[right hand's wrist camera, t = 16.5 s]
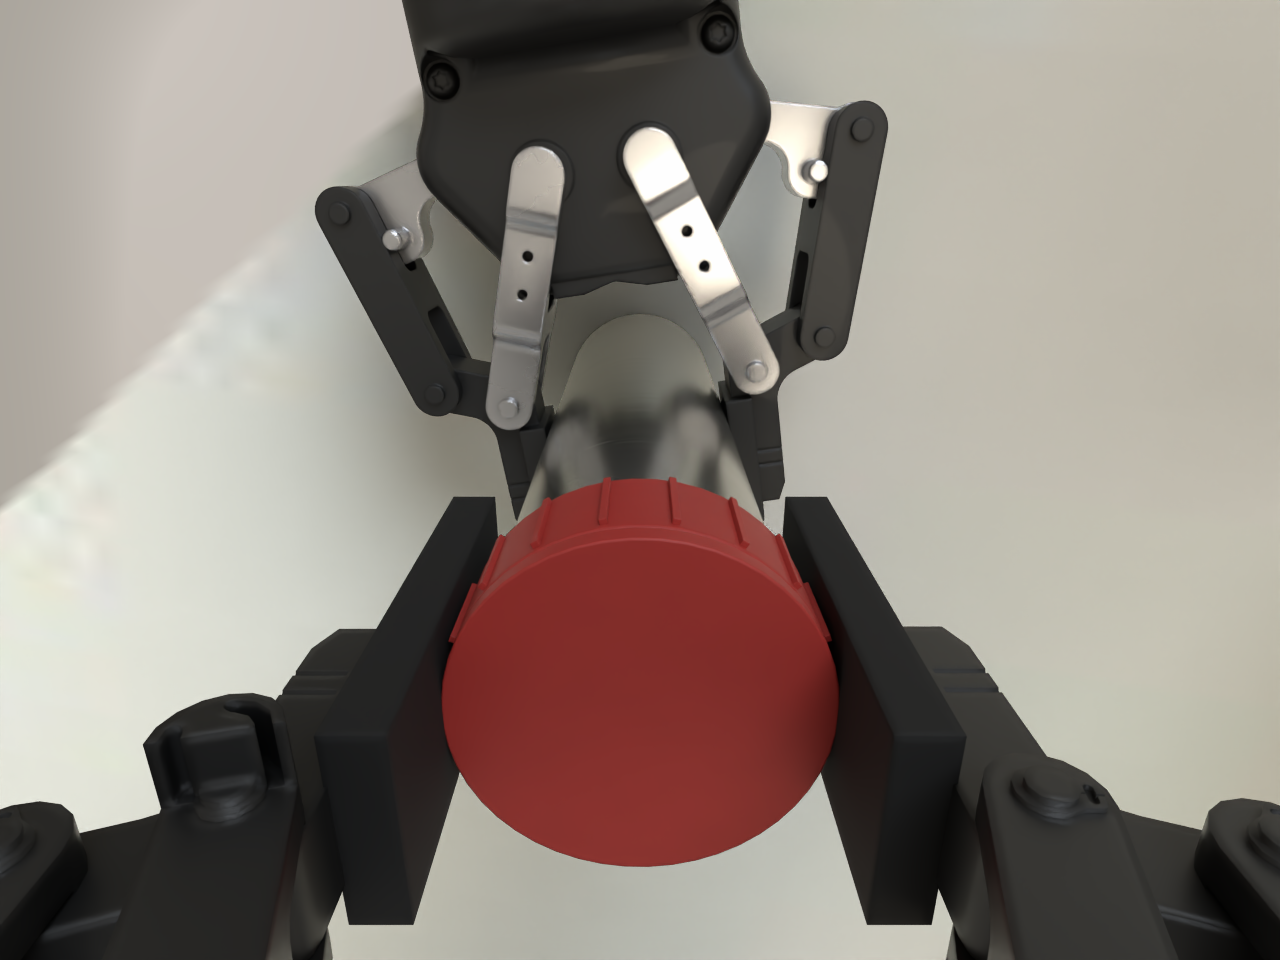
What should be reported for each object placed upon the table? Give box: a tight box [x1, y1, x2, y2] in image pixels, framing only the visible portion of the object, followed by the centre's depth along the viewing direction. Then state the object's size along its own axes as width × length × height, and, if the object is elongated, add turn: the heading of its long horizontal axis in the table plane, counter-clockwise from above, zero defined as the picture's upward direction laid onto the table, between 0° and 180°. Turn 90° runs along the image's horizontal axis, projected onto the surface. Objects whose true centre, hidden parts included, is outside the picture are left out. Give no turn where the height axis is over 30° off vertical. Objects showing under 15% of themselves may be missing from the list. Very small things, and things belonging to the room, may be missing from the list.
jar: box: [516, 314, 764, 525], centre depth 19 cm, size 5×5×18 cm
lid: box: [441, 477, 839, 867], centre depth 11 cm, size 5×6×2 cm
